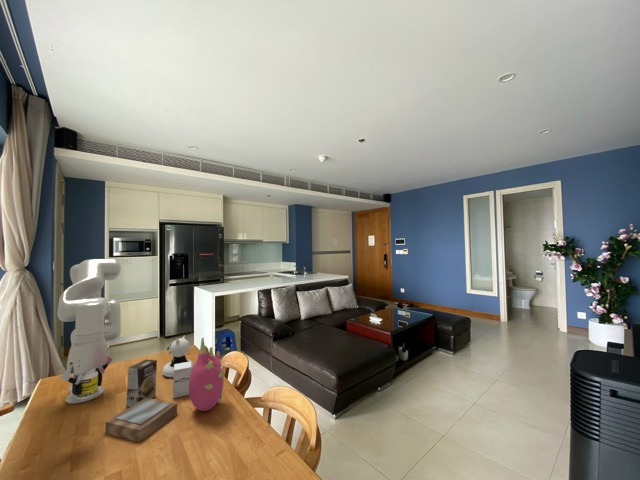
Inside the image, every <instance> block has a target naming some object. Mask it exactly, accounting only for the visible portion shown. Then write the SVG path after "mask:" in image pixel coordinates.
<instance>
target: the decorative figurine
mask: <svg viewBox="0 0 640 480" xmlns="http://www.w3.org/2000/svg"><path fill="white" fill-rule="evenodd" d="M190 345H191V344H190V342H189V340H187V339H186V336H185V335H183V336H182V337H180V338H178V337H176V339H175V340H173V342H171V344H169V347H166V348H167V351H169V354H170V355H171V356H172V358H171V361H170V362H168V363H166V364H165V365H164V366H163V368H162V371H161V372H162V374H163V376H165V377H168V378H173V376H174V364H179V363H185V362H190V361H191V363H192V369H193V366H194V362H193V361H192V360H191V359H189V358H187V357H186V354H188V352H189V351H190V347H191V346H190ZM192 369H191V371H192Z"/></svg>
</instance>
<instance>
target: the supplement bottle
mask: <svg viewBox="0 0 640 480" xmlns="http://www.w3.org/2000/svg"><path fill="white" fill-rule="evenodd" d="M95 370H96V369H92V370H90V371H88V372H86V373H84V374H83V375H82V378H81V380H80V383H82V393H81V395H79V396H77V398H78V399H86V398H89V397H92V396H94V395H95V394H96V393H97V388H98V372H97V371H95Z"/></svg>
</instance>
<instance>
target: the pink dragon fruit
mask: <svg viewBox="0 0 640 480" xmlns="http://www.w3.org/2000/svg"><path fill="white" fill-rule="evenodd" d="M204 340H205V338H204V337H202V338H201V339H200V348H199V352H198V354H197V358H196V359H197V360H196V361H195V363H193V368H192V370H191V374H190V379H189V394H190V395H189V398H190V401H191V403H192V404H193V406H194V407H195V408H196V409H197V410H198V411H201V412H206V411H210V410H211V409H212V408H214V406H216V404H217V403H218V402H219V404H221V403H222V400H223V391H224V383H225V382H224V375H225V374H224V369H223V368H222V367H223V366H222V364H221V351H219V350H217V351H216V353H215V354H214V349H213V347H212V346H211V347H208V346H206V345H205V341H204Z"/></svg>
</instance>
